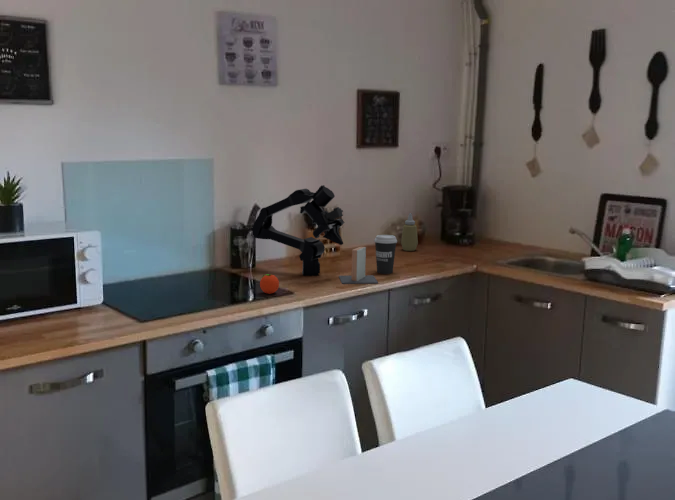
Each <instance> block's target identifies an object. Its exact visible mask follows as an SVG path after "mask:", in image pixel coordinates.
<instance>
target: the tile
mask: <svg viewBox="0 0 675 500" xmlns="http://www.w3.org/2000/svg"><path fill="white" fill-rule="evenodd" d="M366 250H367V247H366V246H359V247H356V248H353V249H351V276H352V280H353V281H358V280H360V279H362V278H364V277H365V275H366V258H367V257H366V254H367V251H366Z"/></svg>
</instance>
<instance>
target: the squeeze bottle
mask: <svg viewBox="0 0 675 500" xmlns="http://www.w3.org/2000/svg"><path fill="white" fill-rule="evenodd" d="M400 239H401V240H400V244H401V246H402V247H401V248H402V250H403V251H405V252H414V251H416V249H417V247H418V244H419V241H418V226H417V225H416V220H414V219H413V214H412V213H411V212H409V214H408V215H407V220H405V222H404V225H403V226H402V233H401V238H400Z"/></svg>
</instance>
